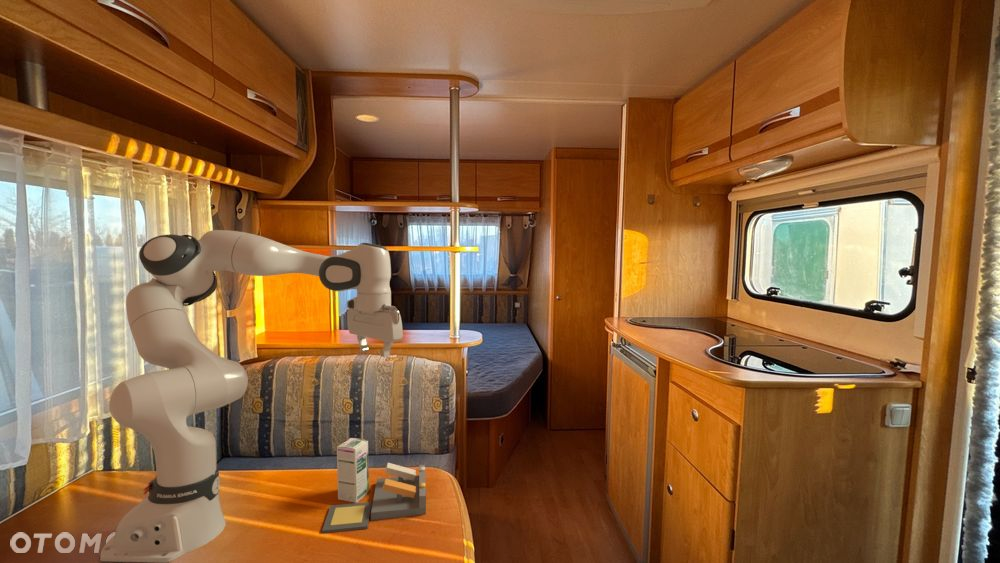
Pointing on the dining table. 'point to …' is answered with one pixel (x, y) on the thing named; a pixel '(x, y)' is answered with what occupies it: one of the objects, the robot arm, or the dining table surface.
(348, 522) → the pad
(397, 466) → the block
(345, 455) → the syrup box
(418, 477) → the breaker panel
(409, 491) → the block
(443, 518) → the dining table surface
